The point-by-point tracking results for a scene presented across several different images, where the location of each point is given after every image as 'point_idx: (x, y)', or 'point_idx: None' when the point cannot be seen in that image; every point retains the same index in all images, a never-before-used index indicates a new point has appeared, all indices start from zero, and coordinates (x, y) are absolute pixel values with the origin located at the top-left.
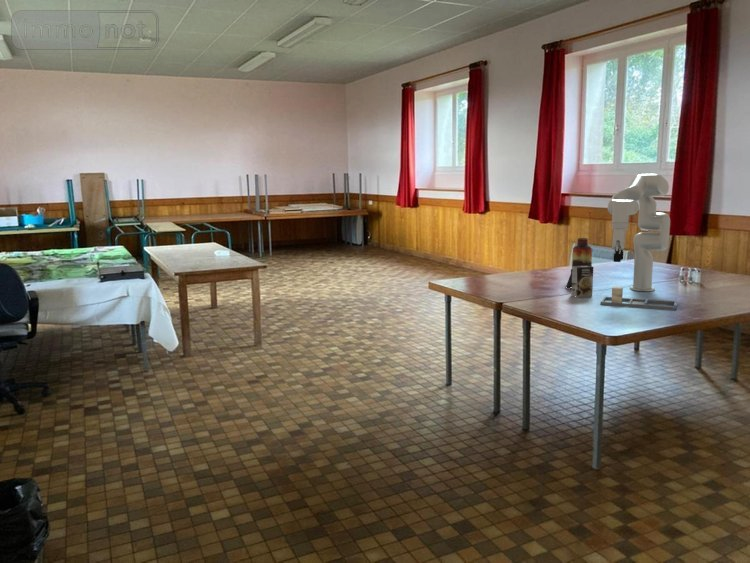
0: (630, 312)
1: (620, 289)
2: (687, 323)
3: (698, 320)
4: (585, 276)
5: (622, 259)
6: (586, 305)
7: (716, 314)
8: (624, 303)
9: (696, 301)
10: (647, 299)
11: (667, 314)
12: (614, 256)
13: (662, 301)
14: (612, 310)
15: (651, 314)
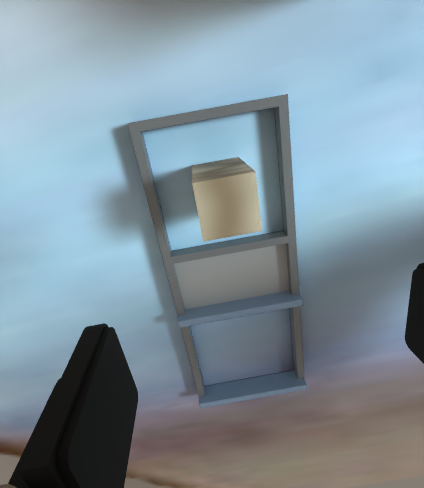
0: (58, 291)
1: (202, 232)
2: None
3: None
4: None
5: (410, 339)
6: (61, 53)
7: (204, 470)
8: (159, 243)
9: (381, 401)
10: (259, 312)
11: None
12: (54, 411)
13: (294, 343)
14: (41, 219)
15: None
